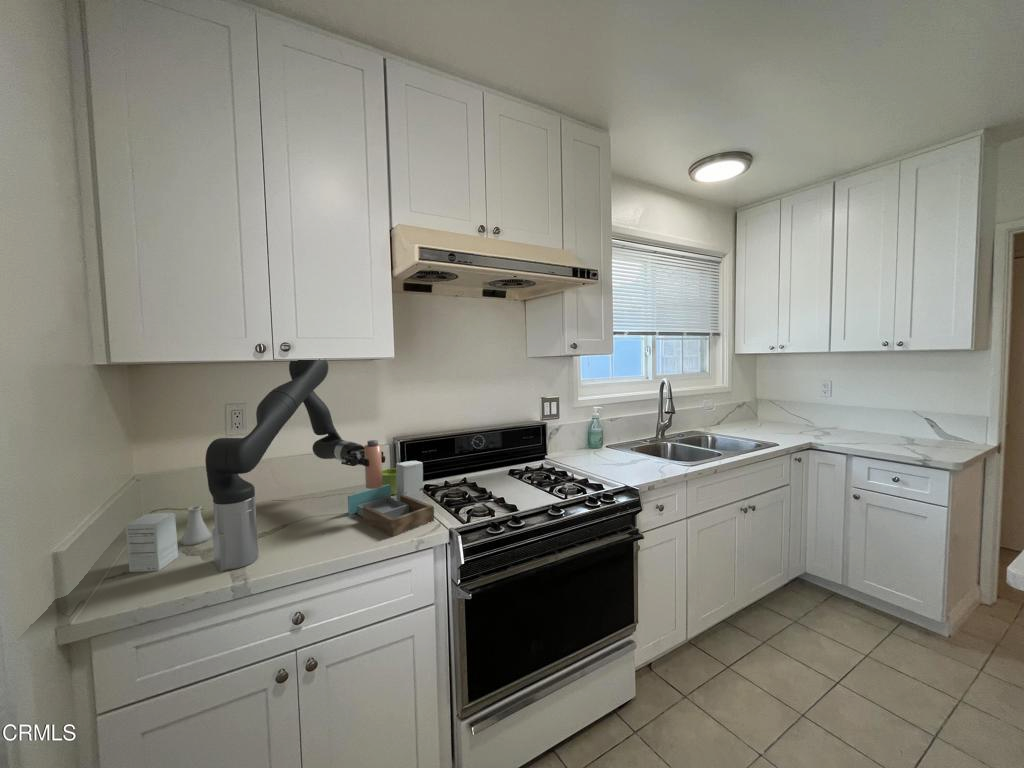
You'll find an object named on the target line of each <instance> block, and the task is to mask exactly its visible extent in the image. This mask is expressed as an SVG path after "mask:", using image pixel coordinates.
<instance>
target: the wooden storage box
mask: <svg viewBox="0 0 1024 768" xmlns="http://www.w3.org/2000/svg"><path fill="white" fill-rule="evenodd" d="M400 501H401V502H404V503H406V504H409V513H408V514H405V515H402V516H400V517H397V518H392V517H390V516H387V515H385V514H383V513H381V512H379V511H376V510H374V509H372V508H370V507H368V506H364V507H363V519H362V520H363V521H364V522H363V523H365V522H366V523H365V524H367V523H368V524H367V525H369V524H370V525H369V526H371V527H373V528H374V529H377V528H378V529H377V530H379V531H380V532H383V533H385V534H387V535H389V536H391V537H392V536H393V537H396V536H399V535H402V534H404V533H407V532H409V531H408V530H410V529H412V530H414V529H413V528H415V527H417V528H419V527H418V526H420V525H423V524H425V525H427V524H426V523H428V522H430V523H432V522H431V521H433V522H434V521H435V508H434V505H431V504H429V503H426V502H424V501H422V502H421V501H419V500H416V499H413V498H411V497H408V496H405V495H400ZM428 524H429V523H428ZM423 526H424V525H423ZM420 527H421V526H420ZM415 529H416V528H415ZM406 531H407V532H406ZM410 531H411V530H410ZM403 532H404V533H403ZM401 533H402V534H401Z"/></svg>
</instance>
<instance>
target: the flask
mask: <svg viewBox="0 0 1024 768" xmlns="http://www.w3.org/2000/svg"><path fill="white" fill-rule="evenodd" d="M186 510H187V512H188V519H187V524H186V526H185V529H184V532H183V535H182V537H181V540H180V542H179V544H182V545H183V546H192V545H193V546H194V545H199V544H202V543H204V542H207V541H208V540H210V539H211V538H213V534H212V533H211V531H210V529H208V527H207V524H206V523H205V521H204V519H203V516H202V514H201V513H202V511H201V510H202V506H201V505H196V506H195V505H194V506H191V507H189V508H187V509H186Z"/></svg>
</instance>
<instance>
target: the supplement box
mask: <svg viewBox="0 0 1024 768" xmlns="http://www.w3.org/2000/svg"><path fill="white" fill-rule="evenodd" d="M124 526H125V536H126V537H125V538H126V539H125V540H126V549H127V550H126V551H127V561H128V570H129V572H130V573H133V572H134V573H135V572H136V573H137V572H158V571H161V569H163V568H165V567H166V566H168V565H169V564H171V563H173V561H175V560H176V559H177V558H179V550H178V549H179V547H178V537H177V524H176V513H174V512H164V513H162V512H160V513H146V514H144V515H142V516H140V517H139V518H136V519H134V520H133V521H130V522H128V523H126V524H124Z"/></svg>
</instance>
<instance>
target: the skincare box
mask: <svg viewBox="0 0 1024 768" xmlns="http://www.w3.org/2000/svg"><path fill="white" fill-rule="evenodd" d="M395 466H396V467H395V468H396V493H397V494H396V500H399V501H400V495H405V496H408V497H411V498H413V499H416V500H419V501H421V502H424V464H423V462H422V461H418V460H409V461H403V462H402V461H401V462H397V463H395Z"/></svg>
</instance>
